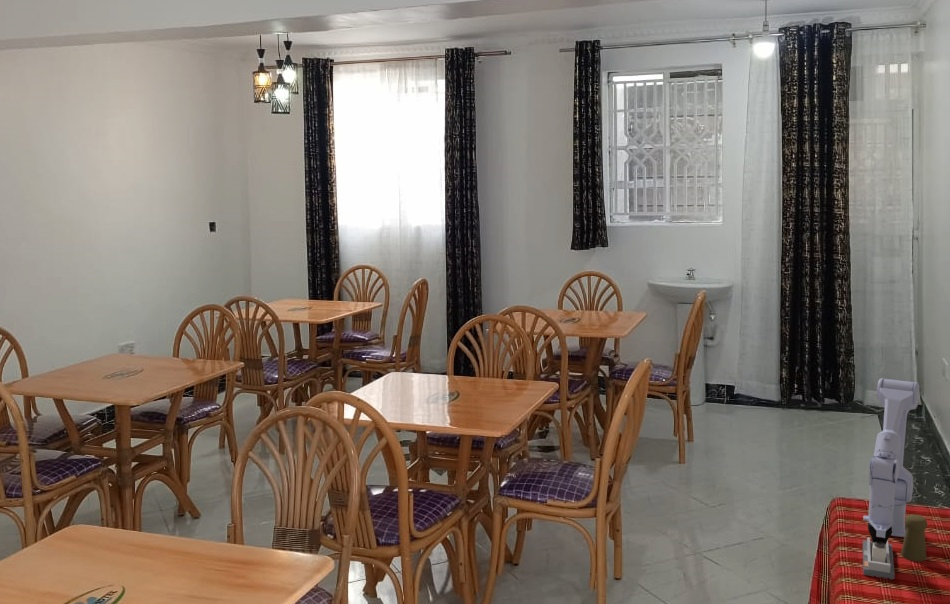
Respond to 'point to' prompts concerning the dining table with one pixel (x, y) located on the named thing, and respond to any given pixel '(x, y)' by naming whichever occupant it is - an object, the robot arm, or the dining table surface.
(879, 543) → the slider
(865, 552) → the board
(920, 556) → the brown tall tapered piece
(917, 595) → the dining table surface
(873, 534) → the robot arm
